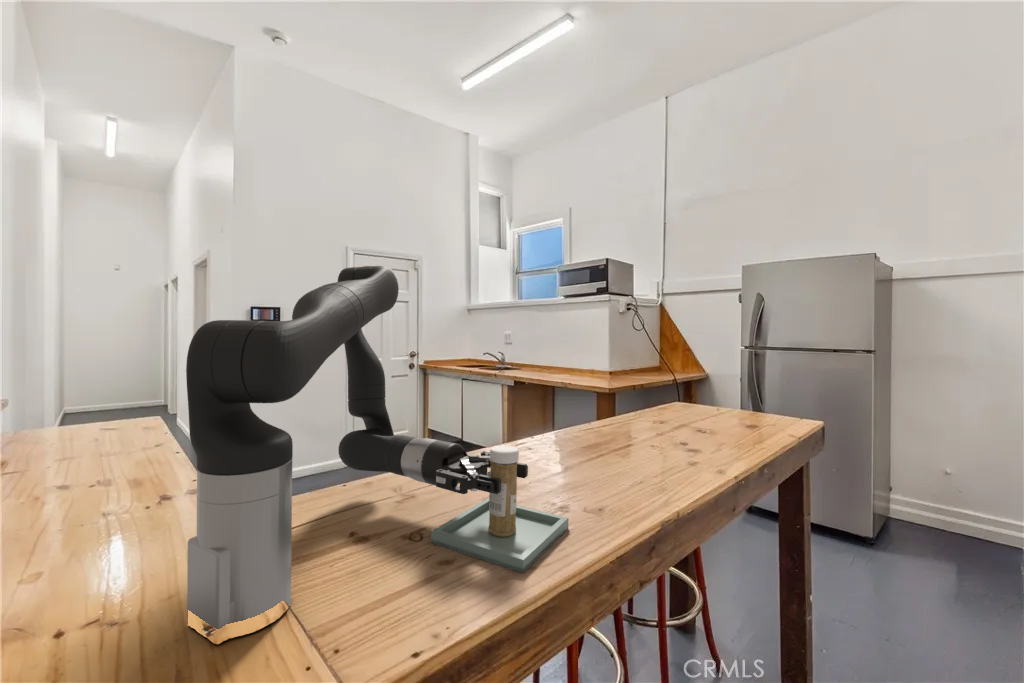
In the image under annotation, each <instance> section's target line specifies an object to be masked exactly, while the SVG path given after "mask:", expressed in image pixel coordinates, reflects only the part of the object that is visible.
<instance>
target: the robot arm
mask: <svg viewBox="0 0 1024 683" xmlns="http://www.w3.org/2000/svg"><path fill="white" fill-rule="evenodd" d="M398 298H399V283H398V278H397V276H396V275H395V273H394V272H393V271H392V270H391V269H390V268H388V267H386V266H384V265H369V266H367V265H366V266H354V267H353V266H351V267H346V268H343V269H341V271H340V273H338V277H337V282H331V283H327V284H322V285H321V286H319V287H317V288H314V289H312V290H310V291H309V292H306V293H305V294H303V296H301V297H300V298H299V299H298V300H297V302H296V303H295V305H294V307H293V309H292V310H293V311H292V313H291V314H292V316H291V319H290V320H252V319H251V320H250V319H249V320H248V319H247V320H246V319H245V320H243V319H237V320H236V319H221V320H220V319H219V320H218V319H217V320H211V321H208V322H206V323H204V324H203V325H201V326H200V327H199V328H198V329H197V330H196V331H195V333H194V334H193V337H191V341H190V343H189V346H188V351H187V356H186V370H185V372H186V374H185V375H186V377H185V378H186V392H187V394H186V396H187V408H188V425H189V426H188V427H189V428H188V429H189V440H190V443H191V446H192V449H193V450H194V453H195V456H196V536H194V537H191V538H189V539H188V540H187V559H186V560H187V561H186V562H187V580H186V581H187V583H186V584H187V585H186V586H187V587H186V588H187V589H186V592H187V593H186V598H187V600H186V601H187V604H186V610H187V609H188V610H189V611H191V612H192V613H193V614H195V615H196V616H198V617H199V618H200V619H202V620H203V621H205V622H206V623H208V624H209V625H211V626H213V627H214V628H216V629H220V628H222V627H223V626H225V625H226V624H230V623H234V622H238V621H243V620H246V619H248V618H252V617H255V616H257V615H260V614H261V613H264V612H265V611H267V610H269V609H271V608H273V607H274V606H276V605H277V604H278V603H280V602H281V601H286V602H287V603H288V605H289V606H290V607H291V603H292V544H293V543H292V538H293V537H292V535H293V533H292V530H293V528H292V527H293V526H292V522H293V517H292V516H293V513H292V512H293V454H294V453H293V446H294V445H293V438H292V435H291V434H290V433H288V432H287V431H286V430H283V429H281V428H279V427H277V426H274V425H272V424H270V423H268V422H266V421H265V420H263V419H261V418H260V417H259V416H258V415H256V413H255V412H254V411H253V409H252V407H251V404H275V403H281V402H282V403H283V402H285V401H287V400H290V399H292V398H294V397H295V396H296V395H298V394H299V393H300V392H301V391H302V390H303V388H304V387H306V385H307V384H308V383H309V382H310V381H311V379H312V378H313V377H314V375H315V374H316V373H317V372H318V370H320V368H321V366H322V365H323V364H324V363H325V362H326V360H327V359H328V358H329V357H330V356H331V355H333V354H334V353H335V352H336V351H337V350H338V349H339V348H340V347H341V346H342V345H344V351H345V358H346V365H347V367H346V368H347V400H348V401H347V406H348V407H347V409H348V413H349V415H351V416H353V417H356V418H360V419H362V420H363V423H364V426H365V429H358V430H357V429H356V430H353V431H350V432H348V433H347V434H345V435H344V436H343V437H342V439H341V440H340V441H339V445H338V455H339V458H340V460H341V462H342V463H343V464H344V465H345V466H347V467H348V468H350V469H353V470H355V471H365V472H382V473H384V472H385V473H392V474H394V475H398V476H402V477H408V478H410V479H412V480H414V481H417V482H420V483H423V484H424V483H425V484H428V485H433V486H435V487H437V488H439V489H443V490H447V491H451V492H454V493H457V494H461V495H466V494H468V492H469V491H470V492H477V491H481V492H484V493H485V492H487V493H489V494H490V493H493V494H498V493H500V492H501V479H499V478H496V477H491V475H490V474H491V460H490V451H484V450H482V451H481V452H480V455H479V454H475V453H474V454H473V453H472V454H468V453H467V451H466V449H465V448H464V447H463V446H462V445H461V444H459V443H456V442H452V441H445V440H440V439H439V440H438V439H434V438H427V437H425V438H424V437H415V436H410V435H401V434H396V435H395V434H394V430H393V426H392V423H391V418H390V416H389V415H390V414H389V413H388V409H387V405H386V376H385V375H386V374H385V370H384V367H383V364H382V363H381V361H380V359H379V357H378V355H377V354H376V352H375V350H374V349H373V348H372V347H371V345H370V343H369V342H368V340H367V338H366V337H365V335H364V332H363V330H362V328H364V327H365V326H366V325H368V324H369V323H370V322H371V321H372V320H375V318H376V317H378V316H379V315H382V314H384V313H386V312H388V311H390V310H391V309H392V308H393V307H394V306H395V304H396V303H397V299H398ZM488 469H489V471H488ZM528 474H529V465H528V464H526V463H522V462H518V463H517V478H520V479H521V478H522V479H525V478H527V477H528V476H529V475H528ZM458 485H459V486H458Z"/></svg>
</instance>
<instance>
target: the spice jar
mask: <svg viewBox="0 0 1024 683" xmlns="http://www.w3.org/2000/svg"><path fill="white" fill-rule="evenodd" d="M489 452H490V460H491V474H490V475H491V477H496V478H499V479H501V492H500V493H498V494H493V493H489V496H488V498H489V512H490V516H489V527H488V530H489V532H490V533H491V534H492V535H495V536H499V537H507V536H511V535H513V534H514V533H515V532H516V505H517V493H518V492H517V491H518V490H517V489H518V488H517V486H518V483H517V480H518V479H517V478H518V477H517V463H519V458H520V457H519V448H517V447H516V446H513V445H503V444H501V445H495V446H492V447H491V448H490V450H489Z"/></svg>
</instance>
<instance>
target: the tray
mask: <svg viewBox="0 0 1024 683" xmlns="http://www.w3.org/2000/svg"><path fill="white" fill-rule="evenodd" d="M489 516H490V512H489V497H487V498H485V499H483V500H482V501H480V502H478V503H477V504H475V505H474V506H472V507H470V508H468V509H466V510H465V511H463V512H462V513H460V514H458V515H457V516H455V517H453V518H451V519H450V520H448V521H447V522H444V523H443V524H441V525H439V526H438V527H436V528H434V529H433V530H431V534H430V537H431V538H430V541H431V542H430V543H431V544H434V545H437V546H439V547H442V548H445V549H449V550H452V551H454V552H457V553H461V554H464V555H467V556H470V557H472V558H476V559H479V560H482V561H485V562H489V563H490V564H495V565H497V566H500V567H504V568H506V569H510V570H512V571H515V572H519V573H522V574H524V573H525V572H526V571H527V570H528V569H529V568H530V567H531V566H533V564H534V563H535V562H537V560H538V559H539V558H540V557H541V556H542V555H543V554H544V553H545V552H546V551H547V550H549V548H551V546H552V545H554V543H555V542H556V541H557V540H558V539H559V538H560V537H561V536H562V535H564V533H566V531H567V530H568V529H569V517H567V516H563V515H559V514H556V513H555V514H554V513H550V512H547V511H541V510H537V509H534V508H532V507H531V508H530V507H526V506H522V505H518V504H516V532H515V533H514V534H513V535H511V536H507V537H499V536H495V535H492V534H491V533H490V532H489V530H488V527H489Z"/></svg>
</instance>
